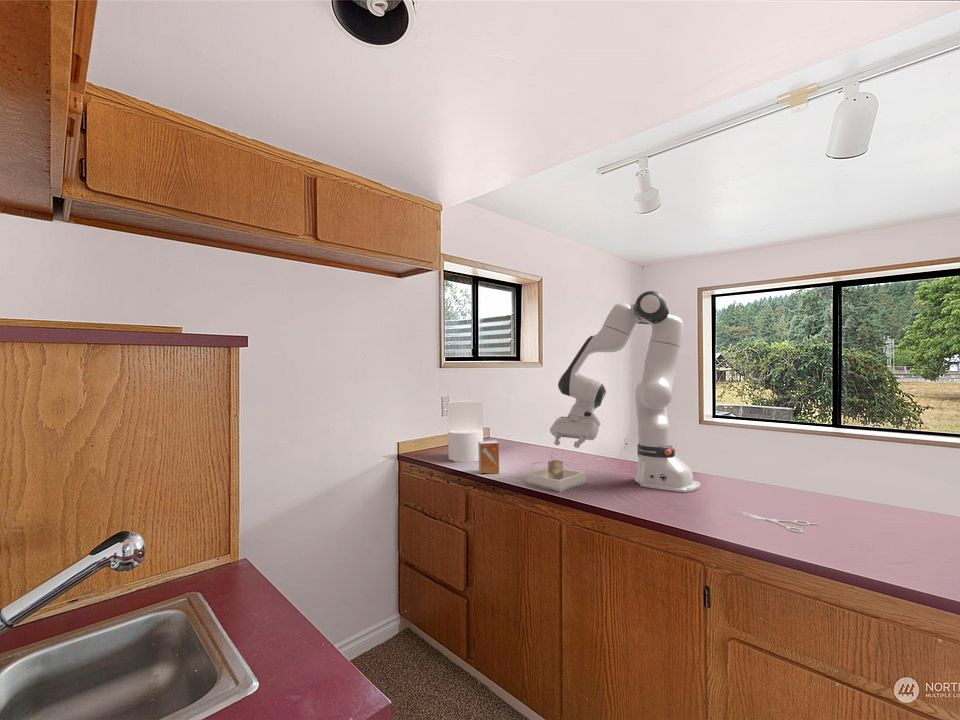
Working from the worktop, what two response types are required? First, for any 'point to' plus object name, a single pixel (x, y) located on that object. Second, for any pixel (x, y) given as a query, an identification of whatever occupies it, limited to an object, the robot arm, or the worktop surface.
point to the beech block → (555, 469)
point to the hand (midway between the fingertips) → (565, 445)
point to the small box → (488, 456)
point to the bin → (542, 480)
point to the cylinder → (464, 429)
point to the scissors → (782, 521)
